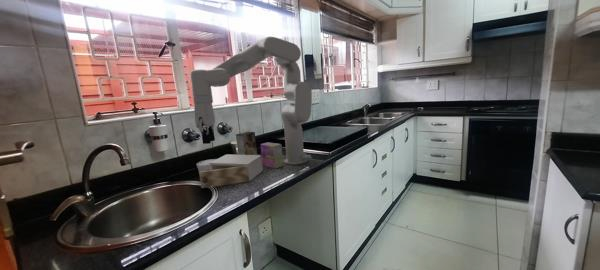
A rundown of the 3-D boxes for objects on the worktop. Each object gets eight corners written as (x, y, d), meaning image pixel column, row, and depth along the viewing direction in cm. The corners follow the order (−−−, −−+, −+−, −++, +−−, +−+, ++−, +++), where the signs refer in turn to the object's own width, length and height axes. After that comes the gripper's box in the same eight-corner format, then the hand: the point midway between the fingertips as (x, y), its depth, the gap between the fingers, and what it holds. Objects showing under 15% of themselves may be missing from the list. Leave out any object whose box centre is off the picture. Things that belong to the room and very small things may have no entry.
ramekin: (201, 169, 136) (200, 159, 135) (222, 167, 137) (221, 158, 136) (194, 176, 125) (193, 166, 124) (217, 174, 126) (216, 164, 125)
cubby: (262, 170, 127) (261, 155, 126) (249, 181, 114) (247, 164, 113) (228, 169, 133) (226, 154, 132) (211, 178, 120) (209, 162, 119)
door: (248, 180, 114) (247, 165, 112) (248, 182, 111) (247, 167, 110) (201, 187, 110) (199, 171, 108) (200, 189, 107) (198, 173, 106)
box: (262, 165, 136) (260, 144, 133) (270, 162, 140) (268, 141, 137) (275, 169, 129) (273, 146, 126) (283, 165, 133) (281, 144, 130)
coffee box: (250, 157, 153) (247, 131, 150) (258, 158, 149) (255, 131, 146) (238, 161, 146) (235, 134, 142) (246, 163, 142) (242, 135, 139)
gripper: (202, 99, 115) (208, 138, 119) (184, 101, 99) (191, 147, 102) (219, 98, 115) (224, 137, 118) (203, 100, 98) (210, 146, 102)
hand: (209, 141), depth 110 cm, fingers open, 4 cm apart
